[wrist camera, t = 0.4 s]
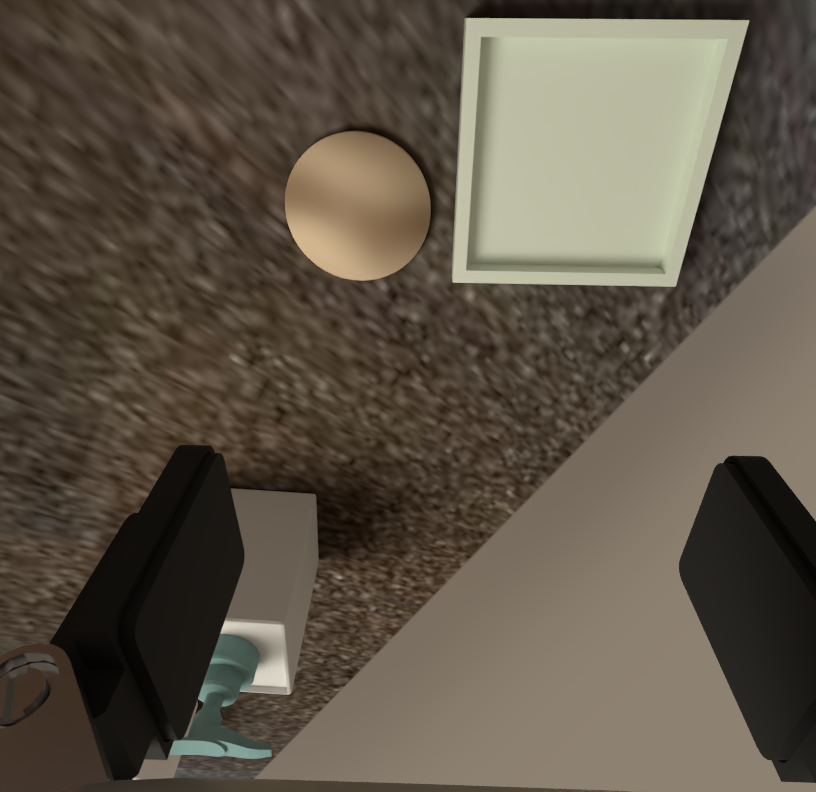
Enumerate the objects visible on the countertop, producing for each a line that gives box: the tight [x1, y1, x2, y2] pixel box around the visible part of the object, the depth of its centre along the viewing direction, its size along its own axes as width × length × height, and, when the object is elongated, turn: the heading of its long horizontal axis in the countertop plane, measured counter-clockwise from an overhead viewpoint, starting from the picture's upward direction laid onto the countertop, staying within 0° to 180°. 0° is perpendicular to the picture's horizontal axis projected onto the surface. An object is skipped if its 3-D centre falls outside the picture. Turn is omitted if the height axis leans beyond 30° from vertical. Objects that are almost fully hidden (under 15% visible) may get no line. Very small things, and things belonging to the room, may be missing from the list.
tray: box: [452, 18, 749, 287], centre depth 33 cm, size 14×14×2 cm
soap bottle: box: [169, 488, 319, 759], centre depth 43 cm, size 9×9×19 cm
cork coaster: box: [285, 131, 431, 280], centre depth 36 cm, size 9×9×1 cm
